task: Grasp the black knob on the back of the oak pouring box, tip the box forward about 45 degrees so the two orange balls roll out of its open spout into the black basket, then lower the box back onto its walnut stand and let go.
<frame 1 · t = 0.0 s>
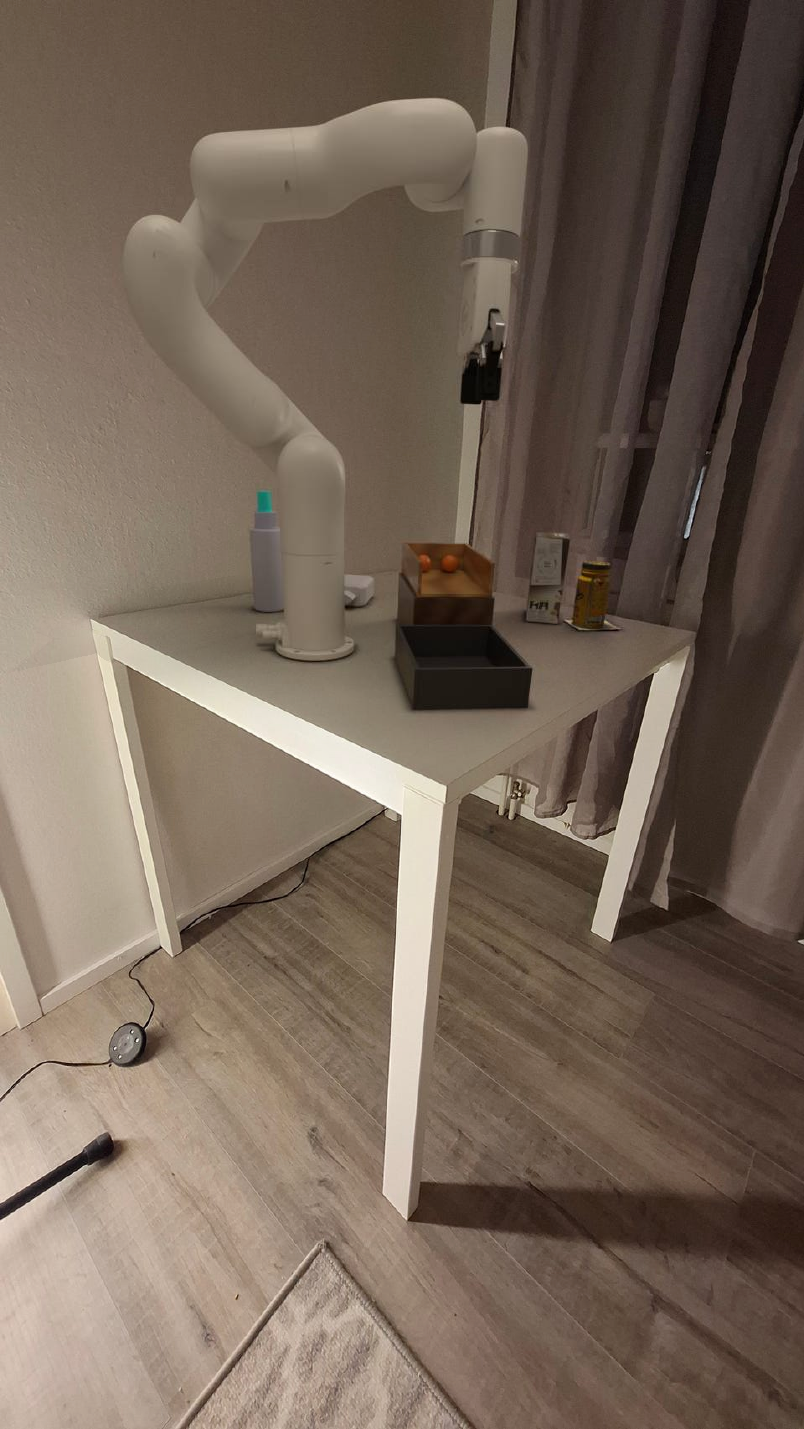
hand: (478, 402, 88), 37 cm above the table, tool pointing down, fingers open, 9 cm apart
charger: (345, 605, 128), on the table
pour box: (440, 564, 108), point 12 cm above the table, hinge at 0.0°, touching ball 1, ball 2
coffee box: (541, 618, 123), on the table
ball 1: (422, 563, 111), point 11 cm above the table, touching pour box
spray bottle: (270, 609, 122), on the table
ball 2: (449, 563, 112), point 11 cm above the table, touching pour box
stand: (439, 634, 110), on the table
condiment: (591, 626, 119), on the table
basket: (455, 680, 88), on the table
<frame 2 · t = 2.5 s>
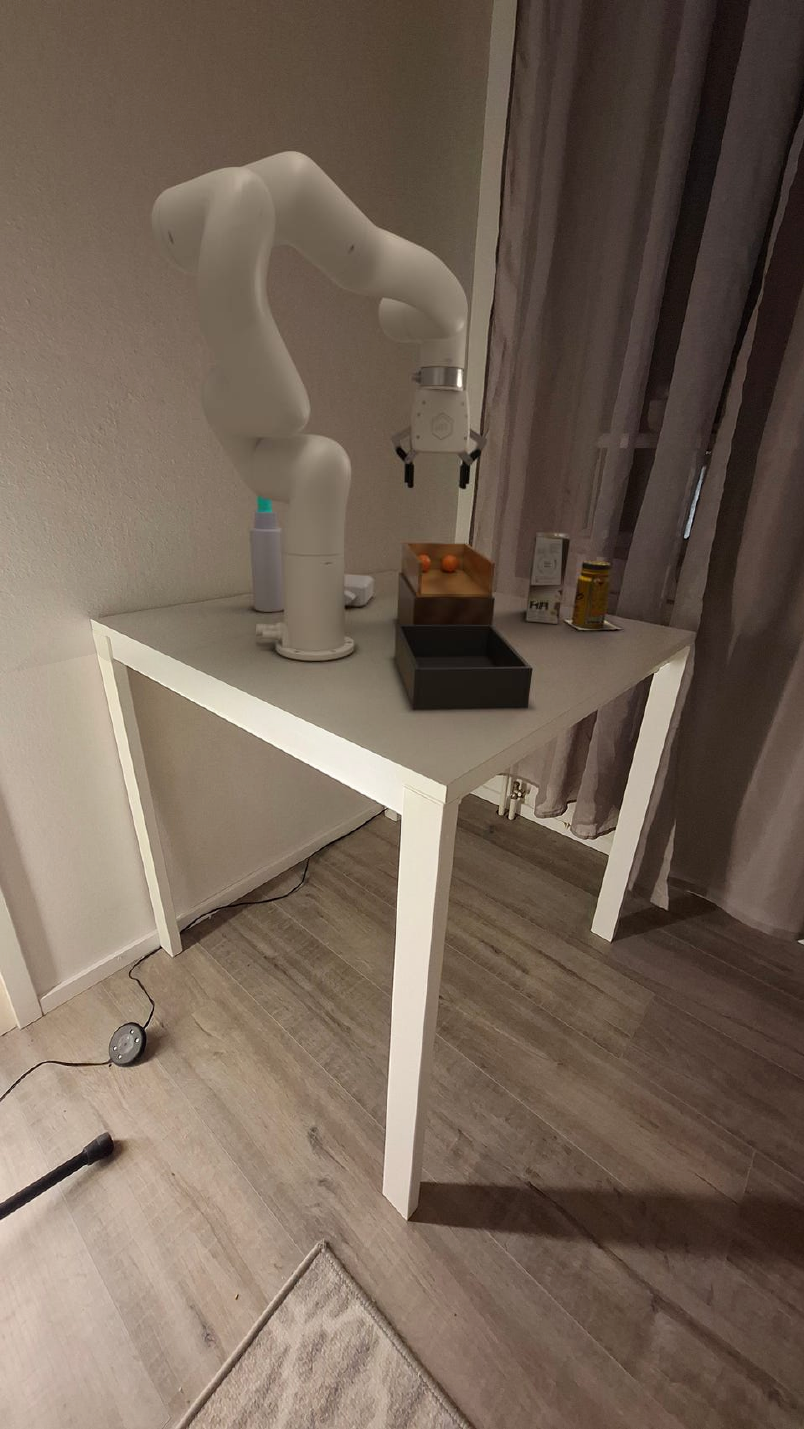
hand: (436, 487, 112), 24 cm above the table, tool pointing down, fingers open, 9 cm apart
nothing on the table moved.
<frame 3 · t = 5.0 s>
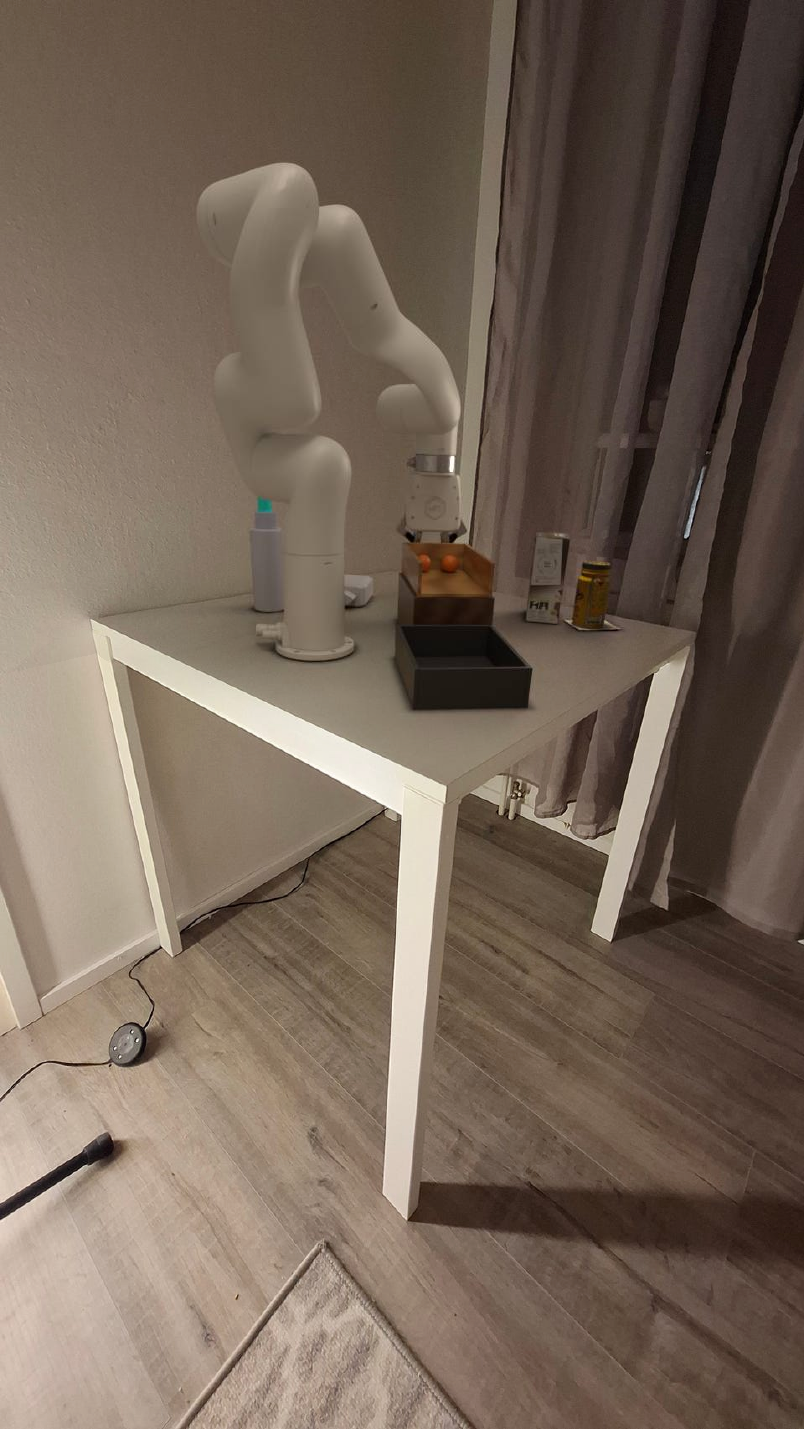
hand: (429, 567, 119), 9 cm above the table, tool pointing down, fingers closed on pour box, 3 cm apart
pour box: (440, 564, 108), point 12 cm above the table, hinge at 0.0°, touching ball 1, ball 2, gripper
everything else where it was.
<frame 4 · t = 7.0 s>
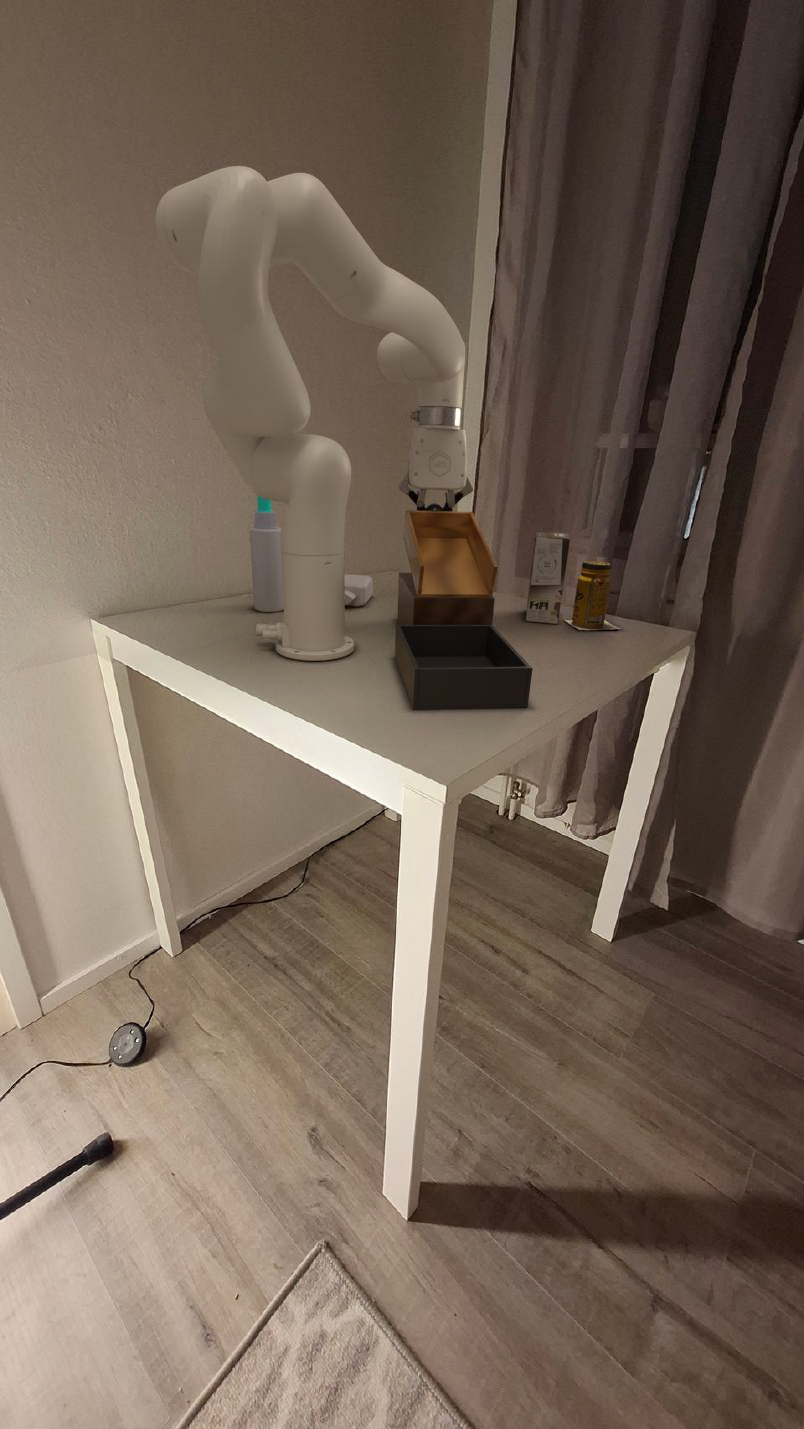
hand: (433, 528, 114), 17 cm above the table, tool pointing down, fingers closed on pour box, 3 cm apart
pour box: (443, 543, 105), point 16 cm above the table, hinge at 17.8°, touching gripper
ball 1: (464, 688, 80), point 2 cm above the table, tilted 50°, touching basket
ball 2: (501, 687, 81), point 2 cm above the table, tilted 50°, touching basket
everything else where it was.
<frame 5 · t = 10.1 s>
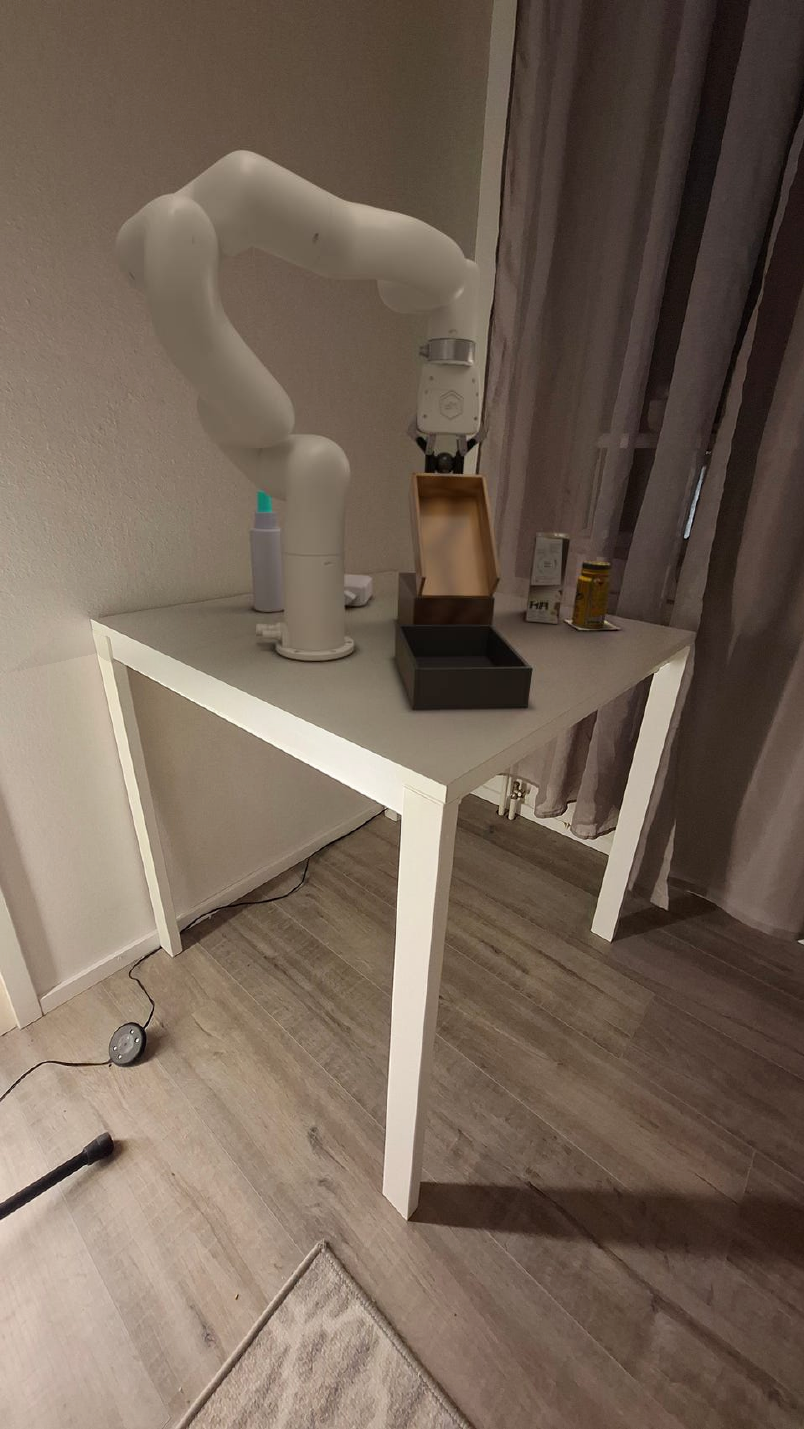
hand: (443, 479, 104), 26 cm above the table, tool pointing down, fingers closed on pour box, 3 cm apart
pour box: (450, 518, 99), point 20 cm above the table, hinge at 43.8°, touching gripper
everything else where it was.
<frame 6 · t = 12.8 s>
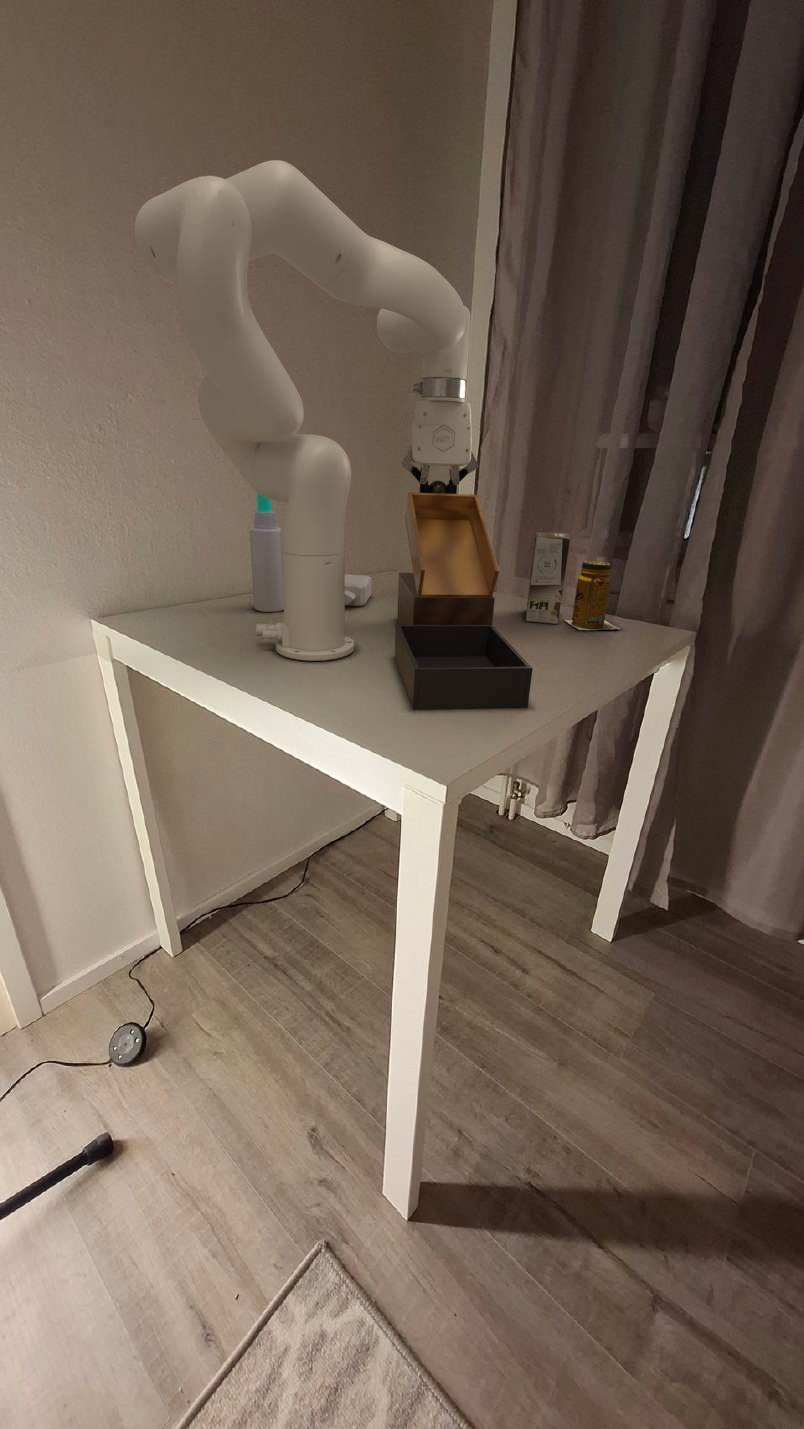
hand: (437, 506, 110), 21 cm above the table, tool pointing down, fingers closed on pour box, 3 cm apart
pour box: (446, 531, 103), point 18 cm above the table, hinge at 28.8°, touching gripper
everything else where it was.
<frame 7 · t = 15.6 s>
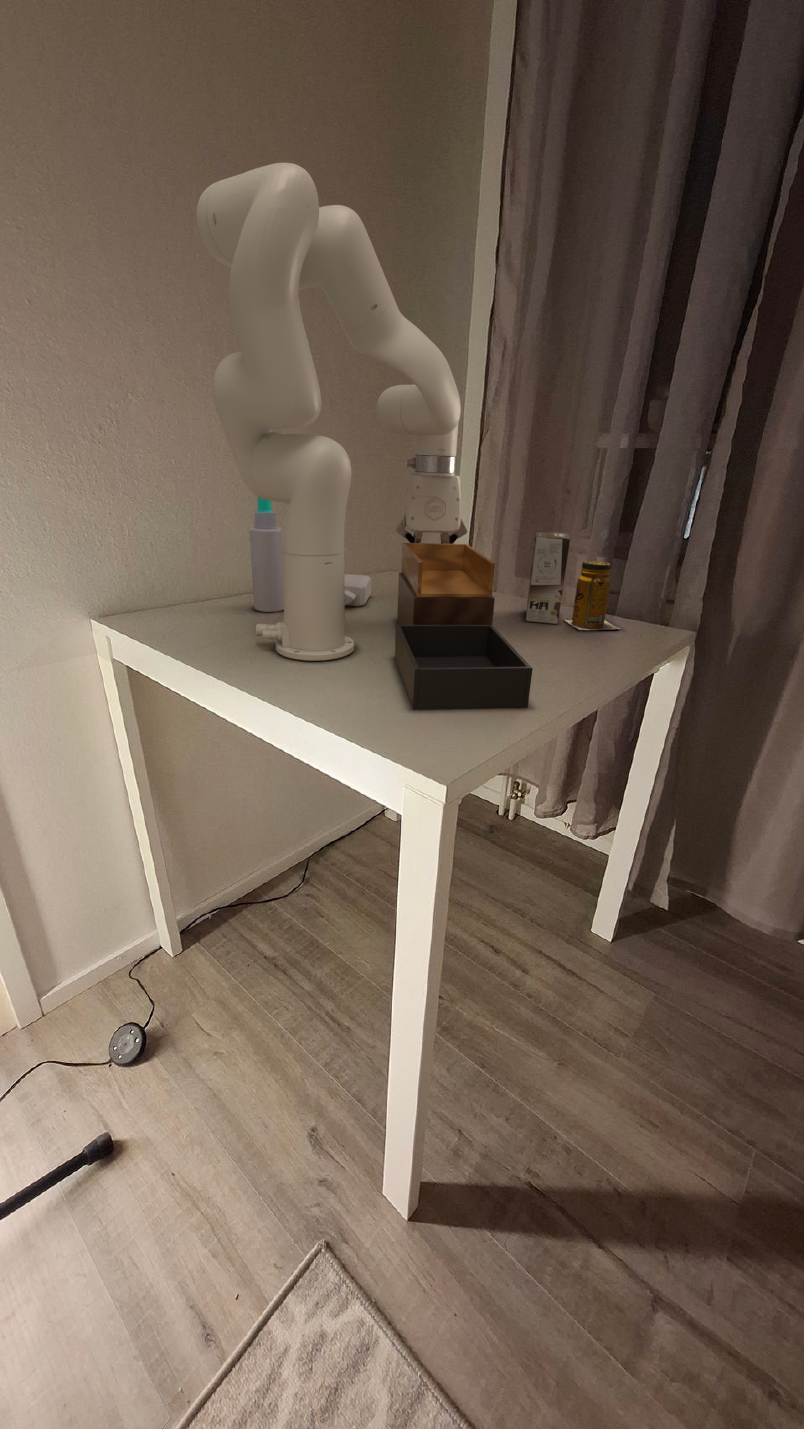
hand: (429, 567, 119), 9 cm above the table, tool pointing down, fingers closed on pour box, 3 cm apart
pour box: (440, 564, 108), point 12 cm above the table, hinge at -0.3°, touching gripper, stand
everything else where it was.
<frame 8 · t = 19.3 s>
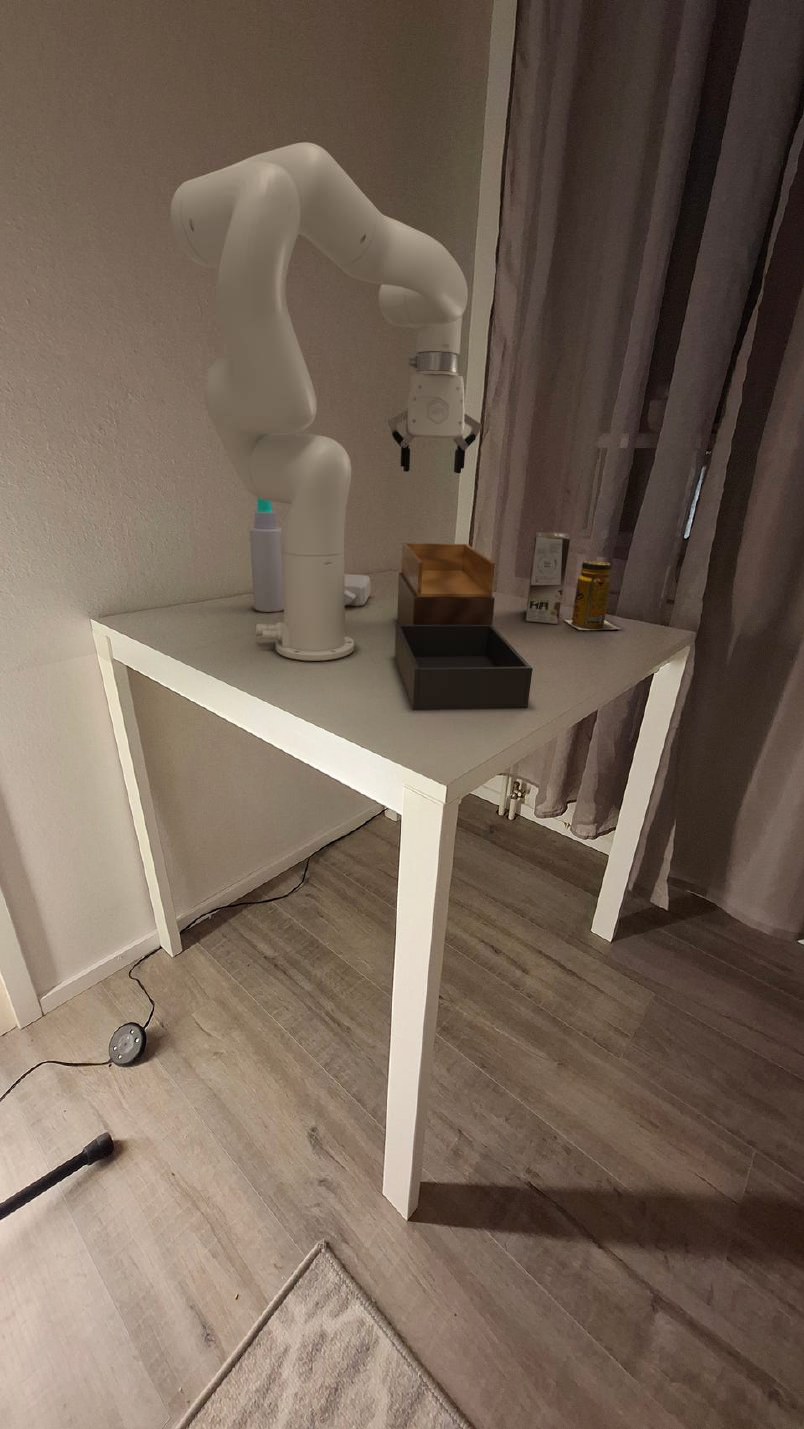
hand: (431, 472, 114), 26 cm above the table, tool pointing down, fingers open, 9 cm apart
pour box: (440, 564, 108), point 12 cm above the table, hinge at -0.3°, touching stand
everything else where it was.
at the end: ball 1 inside the target area in the basket (7.6 cm from its centre), point 2.0 cm above the basket's base; ball 2 inside the target area in the basket (8.8 cm from its centre), point 2.0 cm above the basket's base; pour box at +0° (first picture: +0°) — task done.
